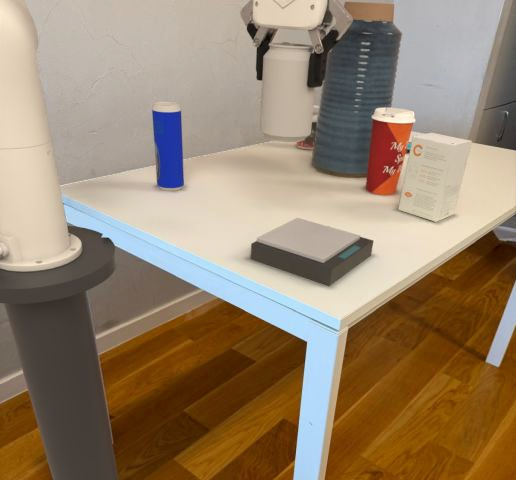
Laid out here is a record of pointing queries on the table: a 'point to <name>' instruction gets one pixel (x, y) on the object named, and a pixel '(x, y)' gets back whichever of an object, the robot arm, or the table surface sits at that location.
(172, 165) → the beverage can
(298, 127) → the can
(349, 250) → the scale
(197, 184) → the table surface
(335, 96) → the vase
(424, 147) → the small box
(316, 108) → the pill bottle
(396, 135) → the coffee cup
